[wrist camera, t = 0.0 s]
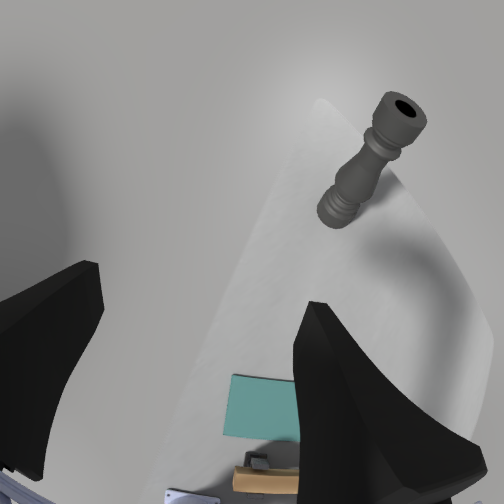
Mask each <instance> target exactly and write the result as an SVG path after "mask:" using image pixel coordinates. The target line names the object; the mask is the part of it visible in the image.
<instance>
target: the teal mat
mask: <svg viewBox="0 0 504 504" xmlns="http://www.w3.org/2000/svg"><path fill="white" fill-rule="evenodd" d="M223 435H226V436H234V437H243V438H252V439H264V440H278V441H300V427H299V418H298V409H297V401H296V392H295V384H294V382H286V381H276V380H267V379H258V378H250V377H243V376H236V375H232V378H231V385H230V392H229V398H228V405H227V412H226V418H225V425H224V432H223Z"/></svg>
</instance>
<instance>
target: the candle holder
mask: <svg viewBox="0 0 504 504" xmlns="http://www.w3.org/2000/svg"><path fill="white" fill-rule="evenodd" d="M426 124H427V119H426V115H425V114H424V112H423V111H422V109H421V108H420V107H419V106H418V105H417V104H416V103H415V102H414V101H412V100H411V99H410V98H408V97H407V96H404V95H403V94H400V93H397V92H392V91H390V92H386V93H385V95H384V96H383V97H382V99H381V101H380V103H379V105H378V106H377V108H376V110H375V112H374V113H373V120H372V126H373V127H370V128H368V129H367V130H366V131H365V133H364V142H365V143H364V145H363V147H362V148H361V150H360V152H359V153H358V154H356V155H355V156H354V157H353V158H352V159H350V160H349V161H348V162H347V163H346V164H344V165H343V166H342V167H341V168H340V169H339V171H338V172H337V174H336V176H335V185H333V186H331V187H330V188H329V189H328V190H327V191H326V192H325V194H324V195H323V197H322V198H321V200H320V202H319V203H318V205H317V213H318V217H319V218H320V220H321V221H322V222H323V223H324V224H325V225H327V226H328V227H330V228H334V229H340V228H343V227H345V226H346V225H347V224H348V223H349V222H350V221H351V220H352V219H353V218H354V216H355V214H356V213H357V210H358V208H359V207H360V203H363V202H365V201H366V200H368V199H370V197H371V196H372V194H373V192H374V190H375V187H376V185H377V182H378V179H379V177H380V174H381V171H382V169H383V168H384V167H385V166H386V164H387V163H388V162H389V161H394V160H396V159H397V158H399V157H400V154H401V148H403V147H405V146H408V145H410V144H412V143H413V142H414V140H415V139H416V138H417V137H418V135H419V134H420V133H421V131H422V130H423V129H424V128H425V126H426Z"/></svg>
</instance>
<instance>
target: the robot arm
mask: <svg viewBox="0 0 504 504" xmlns="http://www.w3.org/2000/svg"><path fill="white" fill-rule="evenodd" d="M103 312H104V303H103V296H102V290H101V283H100V275H99V267H98V263H94V262H90V261H86V260H83V261H81V262H78V263H76V264H74V265H72V266H70V267H68V268H66V269H64V270H62V271H60V272H58V273H56V274H54V275H53V276H51V277H49V278H47V279H45V280H43V281H41V282H39V283H38V284H36V285H34V286H32V287H30V288H28V289H26V290H24V291H22V292H20V293H18V294H16V295H14V296H12V297H10V298H8V299H6V300H4V301H1V302H0V504H12V503H11V499H13V500H14V501H16V502H17V503H19V504H55V503H53V502H51V501H49V500H48V499H46V498H44V497H42V496H40V495H38V494H36V493H35V492H33V491H31V490H30V489H28V488H26V487H25V486H23V485H21V484H20V483H18V482H17V481H15V480H13V479H12V478H10V477H9V476H7V475H6V474H4V473H3V472H2V470H3V468H6V469H7V470H9V471H10V472H12V473H13V472H14V470H16V471H18V472H19V473H21V474H23V475H24V476H26V477H27V478H29V479H31V480H33V481H40V480H42V479H43V470H44V462H45V454H46V448H47V444H48V439H49V435H50V430H51V427H52V423H53V420H54V416H55V413H56V410H57V406H58V404H59V401H60V398H61V395H62V393H63V390H64V388H65V385H66V383H67V381H68V379H69V377H70V375H71V373H72V371H73V370H74V368H75V366H76V364H77V362H78V361H79V359H80V357H81V356H82V353H83V352H84V350H85V348H86V347H87V345H88V343H89V342H90V340H91V338H92V336H93V335H94V333H95V331H96V328H97V326H98V324H99V321H100V319H101V316H102V314H103ZM293 375H294V384H295V392H296V401H297V409H298V418H299V427H300V464H299V483H298V495H297V504H452V501H451V497H452V496H454V495H456V494H458V493H459V492H461V491H463V490H464V489H466V488H468V487H469V486H471V485H473V484H474V483H476V482H477V481H479V480H480V479H481V478H483V477H484V476H485V475H486V473H487V471H488V470H487V467H486V464H485V460H484V457H483V454H482V451H481V449H480V446H478V445H476V444H474V443H472V442H470V441H468V440H467V439H465V438H463V437H461V436H459V435H457V434H456V433H454V432H452V431H451V430H449V429H448V428H446V427H445V426H443V425H442V424H440V423H439V422H437V421H436V420H434V419H433V418H432V417H430V416H429V415H428V414H426V413H425V412H424V411H422V410H421V409H420V408H419V407H418V406H416V405H415V404H414V403H413V402H411V401H410V400H409V399H408V398H407V397H406V396H405V395H404V394H402V393H401V392H400V391H399V390H398V389H397V388H396V387H395V386H394V385H393V384H392V383H391V382H390V381H389V380H388V379H387V378H386V377H385V376H384V375H383V374H382V373H381V371H380V370H379V369H378V368H377V367H376V366H375V365H374V363H373V362H372V361H371V360H370V359H369V358H368V356H367V355H366V354H365V353H364V352H363V350H362V349H361V348H360V347H359V345H358V344H357V343H356V341H355V340H354V339H353V338H352V336H351V335H350V334H349V332H348V331H347V330H346V328H345V327H344V326H343V324H342V323H341V322H340V320H339V319H338V318H337V316H336V315H335V313H334V312H333V311H332V309H331V308H330V307H329V306H328V304H327V303H320V302H313V301H309V303H308V306H307V309H306V312H305V314H304V317H303V320H302V323H301V325H300V328H299V331H298V333H297V336H296V339H295V341H294V344H293ZM167 494H170V496H169V495H167ZM10 498H11V499H10ZM215 502H218V504H220V499H219V498H217V497H209V496H202V495H196V494H190V493H185V492H180V491H175V490H170V489H167V490H166V492H165V503H164V504H216V503H215ZM474 504H482V502H481V501H478V502H476V503H474Z"/></svg>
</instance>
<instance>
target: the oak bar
mask: <svg viewBox="0 0 504 504" xmlns="http://www.w3.org/2000/svg"><path fill="white" fill-rule="evenodd" d="M298 483H299V470H293V469H269V470H263V469H253V468H251V467H240V466H235V471H234V477H233V491H238V492H251V493H272V494H298Z"/></svg>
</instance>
